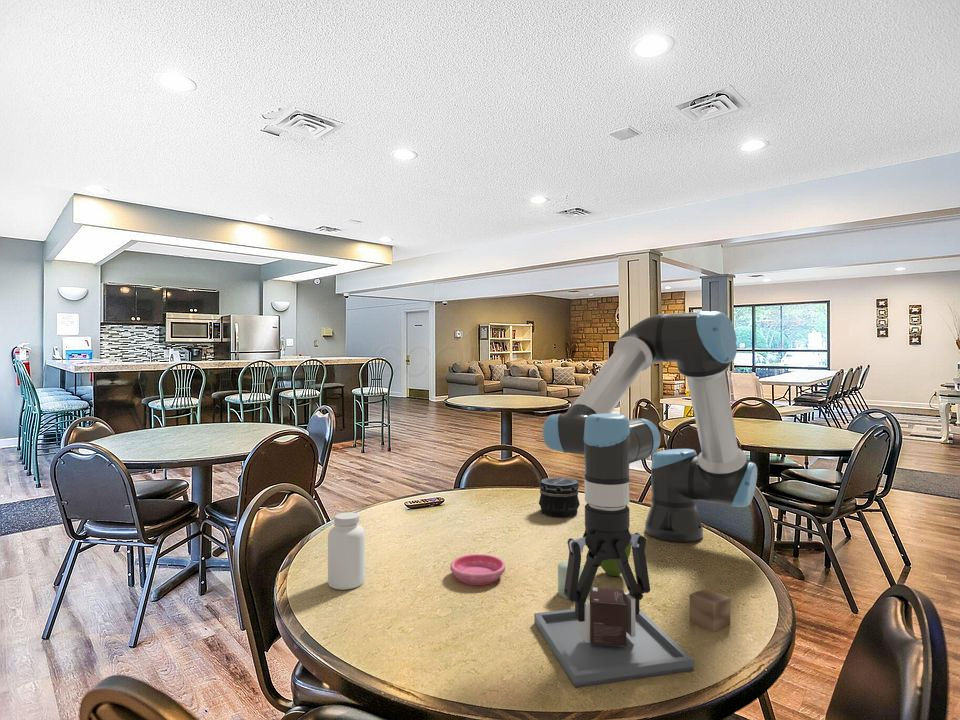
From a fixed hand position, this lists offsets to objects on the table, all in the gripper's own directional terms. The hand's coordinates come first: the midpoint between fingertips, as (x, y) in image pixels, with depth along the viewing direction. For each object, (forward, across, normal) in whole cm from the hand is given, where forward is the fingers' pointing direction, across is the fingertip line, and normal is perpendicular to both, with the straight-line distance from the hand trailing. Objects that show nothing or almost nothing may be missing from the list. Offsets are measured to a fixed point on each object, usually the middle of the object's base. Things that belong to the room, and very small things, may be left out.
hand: (607, 635), depth 93 cm
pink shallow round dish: (+2, +16, -33) cm, 37 cm away
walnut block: (+2, -22, -3) cm, 22 cm away
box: (0, 0, 0) cm, 0 cm away
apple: (+2, -14, -27) cm, 30 cm away
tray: (+2, 0, 0) cm, 2 cm away
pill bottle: (+2, +45, -36) cm, 58 cm away
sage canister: (+2, -1, -20) cm, 20 cm away
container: (+2, -19, -75) cm, 77 cm away
